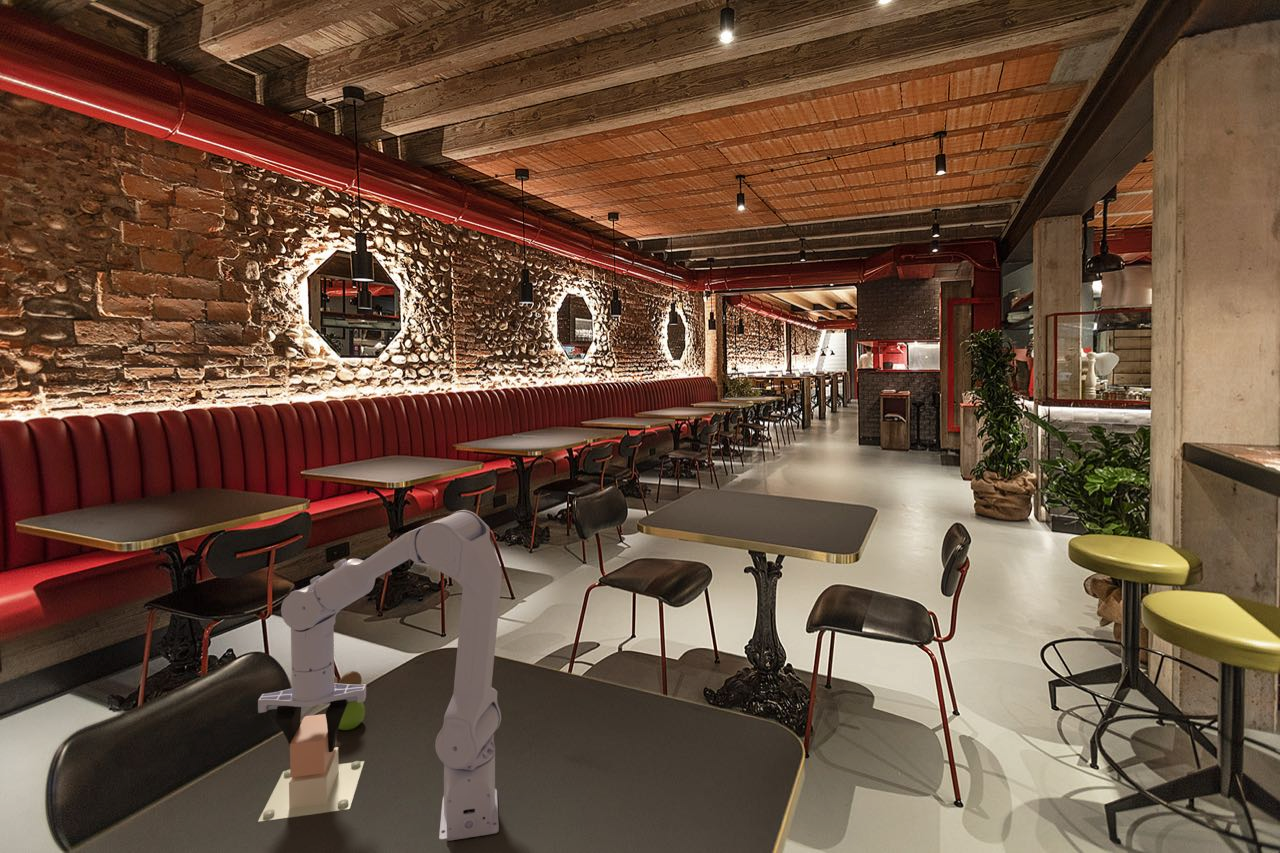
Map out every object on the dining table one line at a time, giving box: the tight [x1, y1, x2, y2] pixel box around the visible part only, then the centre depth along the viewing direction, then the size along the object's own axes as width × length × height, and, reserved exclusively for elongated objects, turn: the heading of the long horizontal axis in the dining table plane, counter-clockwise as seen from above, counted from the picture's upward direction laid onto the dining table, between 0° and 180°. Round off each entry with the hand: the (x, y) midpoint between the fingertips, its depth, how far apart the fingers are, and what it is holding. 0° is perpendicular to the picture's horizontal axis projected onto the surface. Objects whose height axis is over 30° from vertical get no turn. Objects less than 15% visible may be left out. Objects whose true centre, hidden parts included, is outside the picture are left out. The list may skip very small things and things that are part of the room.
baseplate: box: [257, 760, 365, 823], centre depth 95 cm, size 12×12×1 cm
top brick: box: [289, 713, 337, 777], centre depth 95 cm, size 8×4×5 cm, turn 14°
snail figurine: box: [334, 670, 366, 731], centre depth 113 cm, size 5×6×12 cm
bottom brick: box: [289, 746, 340, 809], centre depth 95 cm, size 8×5×4 cm, turn 14°
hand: (314, 750), depth 95 cm, fingers closed on top brick, 4 cm apart
